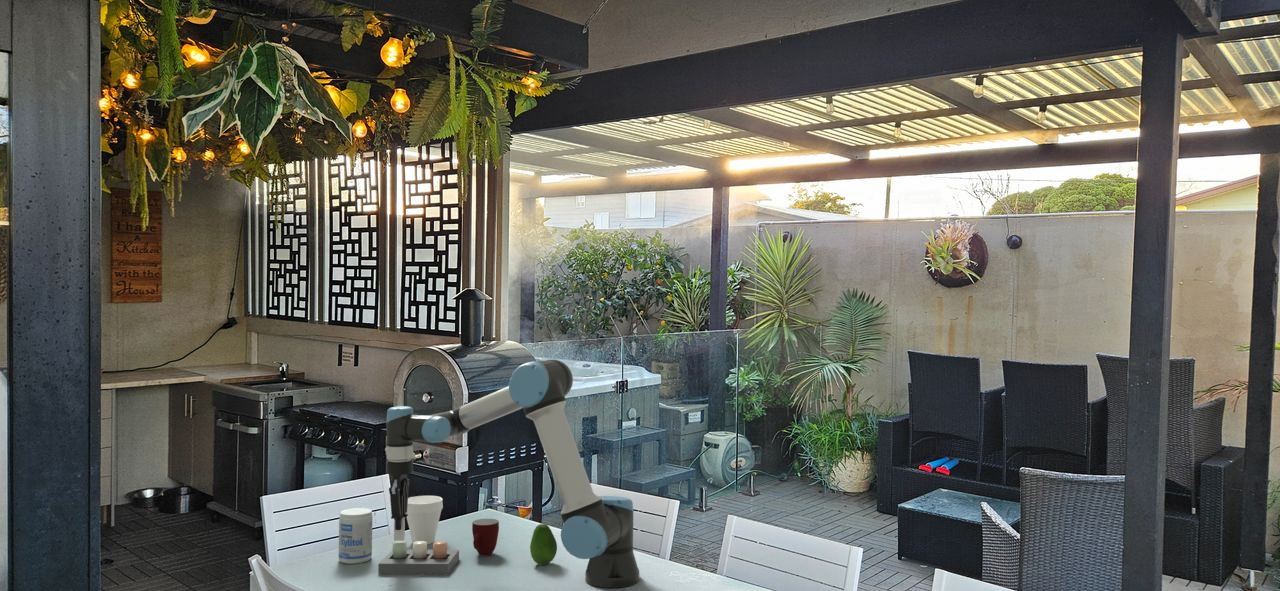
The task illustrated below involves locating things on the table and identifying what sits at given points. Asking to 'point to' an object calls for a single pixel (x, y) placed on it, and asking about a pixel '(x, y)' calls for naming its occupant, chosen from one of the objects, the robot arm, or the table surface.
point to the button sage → (399, 549)
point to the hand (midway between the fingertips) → (399, 539)
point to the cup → (424, 517)
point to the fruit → (543, 545)
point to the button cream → (420, 549)
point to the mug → (485, 535)
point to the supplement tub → (355, 535)
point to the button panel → (418, 564)
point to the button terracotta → (440, 549)
